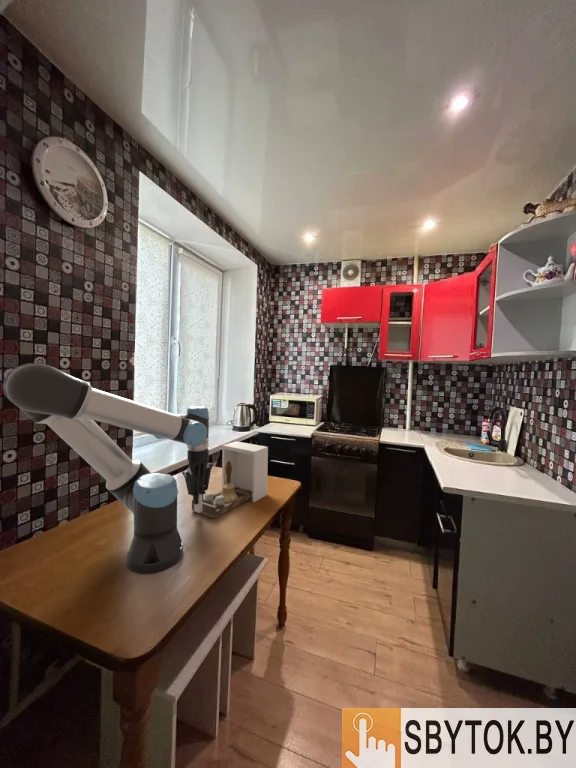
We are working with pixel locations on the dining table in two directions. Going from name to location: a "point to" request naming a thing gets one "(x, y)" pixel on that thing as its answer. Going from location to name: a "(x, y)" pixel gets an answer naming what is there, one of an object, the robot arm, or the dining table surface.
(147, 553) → the robot arm
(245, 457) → the white upright box
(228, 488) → the hand bell
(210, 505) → the tray
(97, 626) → the dining table surface
